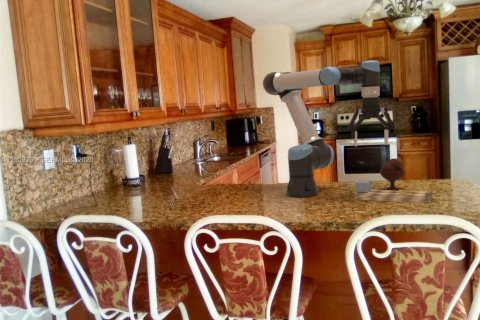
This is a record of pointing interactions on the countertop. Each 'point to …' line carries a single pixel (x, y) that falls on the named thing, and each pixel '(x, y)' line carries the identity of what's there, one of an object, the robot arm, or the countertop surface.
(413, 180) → the countertop surface
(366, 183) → the rider
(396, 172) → the ice cream bowl
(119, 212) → the countertop surface
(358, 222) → the countertop surface
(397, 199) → the rail
